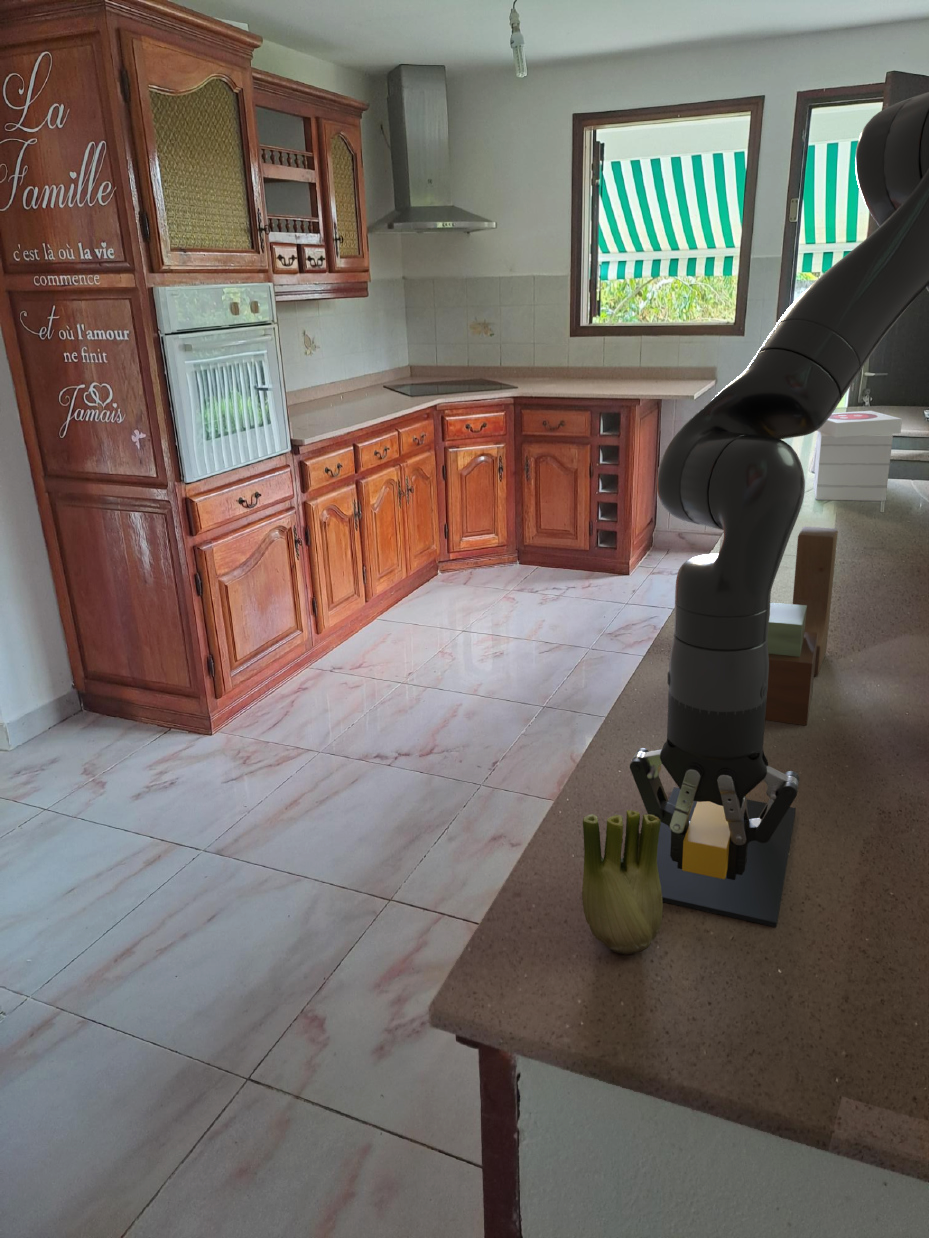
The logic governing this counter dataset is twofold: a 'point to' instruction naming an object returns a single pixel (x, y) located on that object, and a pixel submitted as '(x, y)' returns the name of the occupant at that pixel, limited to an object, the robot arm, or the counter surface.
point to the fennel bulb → (622, 882)
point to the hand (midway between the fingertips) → (707, 868)
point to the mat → (738, 898)
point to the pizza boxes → (854, 456)
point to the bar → (707, 841)
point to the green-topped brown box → (790, 664)
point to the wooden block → (815, 582)
